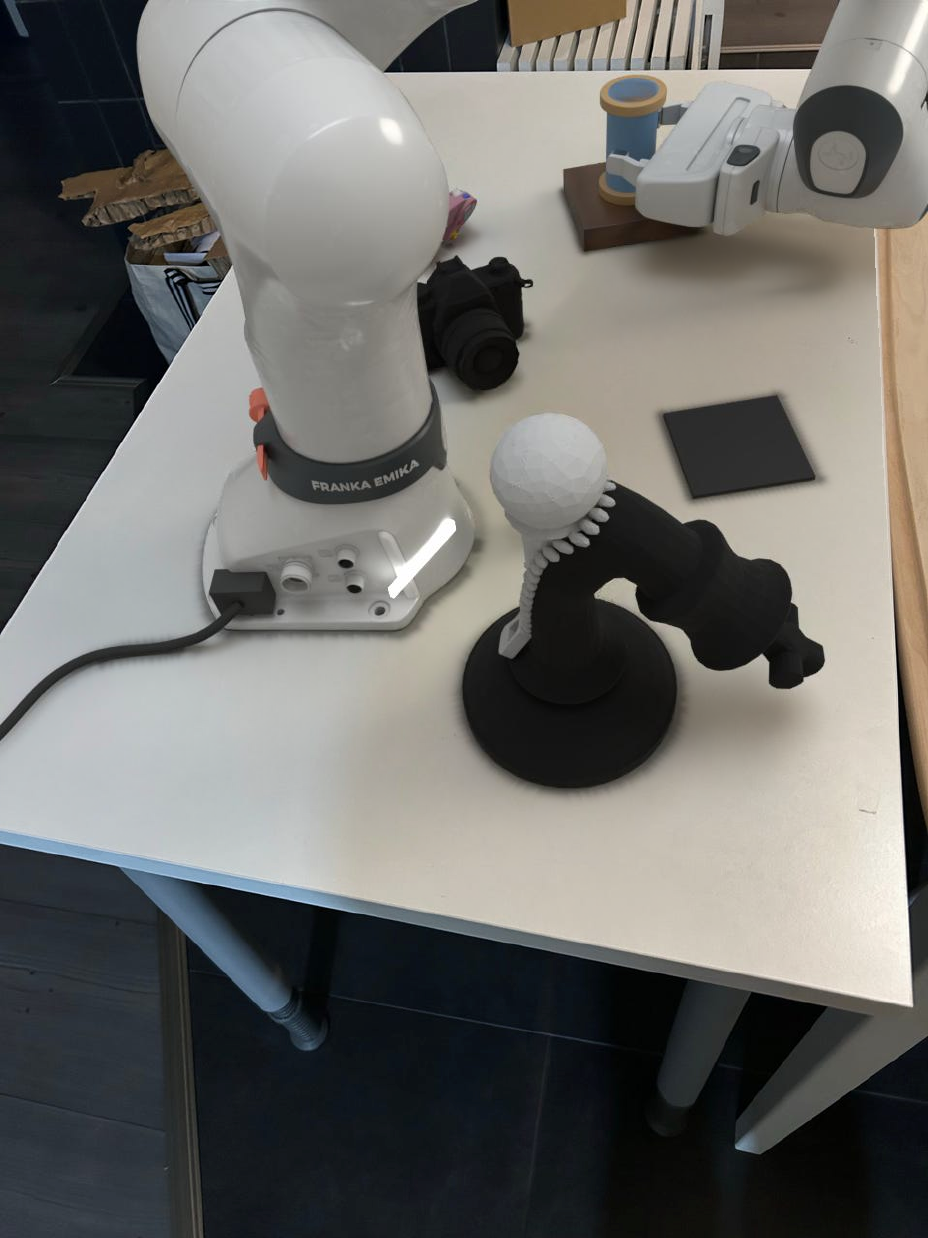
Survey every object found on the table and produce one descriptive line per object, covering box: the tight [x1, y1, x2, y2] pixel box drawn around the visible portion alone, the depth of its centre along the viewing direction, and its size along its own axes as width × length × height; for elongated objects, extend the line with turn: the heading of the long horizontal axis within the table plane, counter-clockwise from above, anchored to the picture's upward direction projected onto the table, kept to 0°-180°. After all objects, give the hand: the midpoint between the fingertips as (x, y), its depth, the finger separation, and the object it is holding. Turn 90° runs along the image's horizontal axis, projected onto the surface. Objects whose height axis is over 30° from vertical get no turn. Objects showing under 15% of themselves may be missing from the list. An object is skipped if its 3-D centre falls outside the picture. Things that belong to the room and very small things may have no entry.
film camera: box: [417, 254, 534, 392], centre depth 84 cm, size 15×10×9 cm, turn 112°
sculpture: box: [461, 412, 826, 789], centre depth 55 cm, size 15×24×25 cm, turn 82°
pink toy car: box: [437, 186, 478, 253], centre depth 97 cm, size 10×5×7 cm, turn 143°
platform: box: [562, 161, 700, 252], centre depth 98 cm, size 12×12×2 cm
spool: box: [599, 74, 668, 206], centre depth 93 cm, size 6×6×10 cm
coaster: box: [662, 394, 817, 500], centre depth 77 cm, size 10×10×1 cm
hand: (627, 136), depth 93 cm, fingers open, 8 cm apart
